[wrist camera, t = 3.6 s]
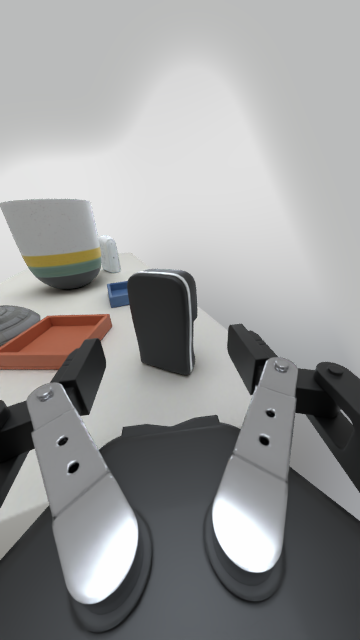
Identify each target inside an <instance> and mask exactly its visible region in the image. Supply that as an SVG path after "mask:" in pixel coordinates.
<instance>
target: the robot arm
mask: <svg viewBox="0 0 360 640" xmlns="http://www.w3.org/2000/svg"><path fill="white" fill-rule="evenodd" d="M227 348H228V353H229V356H230V358H231V360H232V362H233V363H234V365H235V367H236V369H237V371H238V373H239V375H240V376H241V378H242V380H243V382H244V384H245V386H246V388H247V390H248V391H249V393H250V395H253V396H252V399H251V402H250V405H249V407H248V410H247V413H246V416H245V419H244V422H243V425H242V427H241V429H239V428H237V427H235V426H232V425H229V424H225V423H220V422H219V419H218V416H217V415H212V416H205V417H197V418H193V419H190V420H188V421H185V422H183V423H180V424H177V425H175V426H172V427H167V426H159V425H150V424H144V425H136V426H128V427H123V430H122V436H120V437H117V438H115V439H113V440H112V441H110V442H108V443H107V444H106V445H104V446H103V447H102V448H101V449H99V450H98V448H97V446H96V445H95V443H94V441H93V439H92V437H91V436H90V434H89V432H88V430H87V428H86V426H85V425H84V423H83V421H82V419H81V417H80V416H83V415H89V414H90V411H91V408H92V405H93V402H94V400H95V397H96V394H97V391H98V388H99V385H100V383H101V380H102V377H103V374H104V371H105V368H106V359H105V355H104V352H103V348H102V345H101V342H100V339H99V338H93V339H85V340H84V341H83V343H82V345H81V346H80V348H76V349H75V350H74V351H72V352H71V353H70V354H69V355H68V357H67V358H66V360H65V361H64V363H63V364H62V366H61V367H60V369H59V370H58V372H57V373H56V375H55V376H54V378H53V379H52V381H51V382H50V383H48V384H45V385H43V386H40V387H39V388H37V389H36V390H34V391H33V392H32V393H31V394H30V395H29V396H28V398H27V401H24V402H21V403H18V404H15V405H12V406H9V407H7V406H6V404H5V403H4V401H2V400H0V508H1V506H2V504H3V502H4V500H5V498H6V496H7V494H8V492H9V490H10V488H11V486H12V484H13V482H14V480H15V478H16V476H17V474H18V472H19V470H20V468H21V466H22V464H23V462H24V460H25V458H26V456H27V454H28V452H29V451H30V450H32V449H35V451H36V454H37V458H38V462H39V466H40V470H41V474H42V478H43V482H44V486H45V490H46V493H47V497H48V501H49V506H48V507H47V508H46V509H45V511H44V512H43V513H42V514H41V515H40V516H39V517H38V518H37V520H36V521H35V522H34V523H33V524H32V525H31V526H30V527H29V529H28V530H27V531H26V532H25V533H24V534H23V535H22V537H21V538H20V539H19V540H18V541H17V542H16V543H15V544H14V546H13V547H12V548H11V549H10V550H9V551H8V552H7V553H6V554H5V556H4V557H3V558H2V559H1V560H0V640H360V521H359V520H358V519H356V518H355V517H354V516H353V515H351V514H350V513H349V512H347V511H346V510H345V509H344V508H342V507H341V506H340V505H338V504H337V503H336V502H335V501H333V500H332V499H331V498H329V497H328V496H327V495H326V494H324V493H323V492H322V491H320V490H319V489H318V488H316V487H315V486H314V485H313V484H311V483H310V482H309V481H308V480H306V479H305V478H304V477H302V476H301V475H300V474H298V473H297V472H296V471H295V470H293V469H292V468H291V467H290V466H289V464H290V454H291V445H292V436H293V427H294V418H295V413H301V414H306V416H307V417H308V419H309V420H310V422H311V423H312V425H313V426H314V427H315V429H316V430H317V432H318V433H319V435H320V436H321V438H322V439H323V440H324V442H325V443H326V445H327V446H328V448H329V449H330V450H331V452H332V453H333V455H334V456H335V458H336V459H337V461H338V462H339V463H340V465H341V466H342V468H343V469H344V471H345V472H346V474H347V475H348V476H349V478H350V479H351V481H352V482H353V484H354V485H355V487H356V488H357V489H358V491H359V492H360V379H359V378H358V377H357V376H355V375H354V374H353V373H352V372H351V371H349V370H348V369H347V368H345V367H343V366H341V365H338V364H335V363H331V362H321V363H319V364H318V365H317V366H316V370H307V369H299V368H297V366H296V365H295V364H294V363H293V362H291V361H290V360H287V359H285V358H279V357H278V356H277V355H276V354H275V353H274V352H273V351H272V350H271V349H270V348H269V346H268V345H266V343H265V342H264V341H263V340H262V339H261V337H260V336H259V335H258V334H256V333H254V332H253V331H248V330H247V329H246V328H245V327H244V326H243V324H235V325H230V326H229V329H228V344H227ZM341 409H342V410H343V411H344V413H345V414H346V415H347V416H348V417H349V418H350V420H351V421H352V423H353V425H352V424H351V423H350V422H349V421H348V419H347V418H346V417H345V416H344V415H343V414H342V413H341V411H340V410H341Z"/></svg>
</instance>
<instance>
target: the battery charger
mask: <svg viewBox="0 0 360 640" xmlns="http://www.w3.org/2000/svg"><path fill="white" fill-rule="evenodd" d="M127 292H128V298H129V304H130V310H131V315H132V319H133V324H134V328H135V332H136V336H137V340H138V345H139V351H140V356H141V361H142V362H143V363H146V364H149V365H152V366H155V367H158V368H162V369H165V370H168V371H172V372H176V373H180V374H184V375H188V374H189V373H191V371H192V369H193V367H194V364H195V356H194V352H193V322H194V320H195V319H196V318H197V295H196V285H195V281H194V278H193V277H192V276H191V275H190V274H189V273H187V272H185V271H182V270H171V269H148V270H144V271H142V272H137V273H135V274H133V275H132V276H131V277H130V278H129V280H128V283H127Z"/></svg>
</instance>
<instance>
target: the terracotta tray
mask: <svg viewBox="0 0 360 640" xmlns="http://www.w3.org/2000/svg"><path fill="white" fill-rule="evenodd" d="M111 327H112V324H111V319H110V315H109V314H97V315H58V316H47V317H45V318H44V319H42V320H41V321H39V322H38V323H36V324H35V325H33V326H32V327H30V328H29V329H27V330H25V331H24V332H22V333H21V334H19V335H18V336H16V337H15V338H13V339H12V340H10V341H9V342H7V343H6V344H4V345H3V346H1V347H0V369H60V367H61V366H62V364H63V363H64V361H65V360H66V358H67V357H68V355H69V354H70V353H71V352H72V351H74V350H75V349H76V348H80V346H81V345H82V343H83V341H84V340H85V339H93V338H99V339H100V341H101V340H102V338H103V337H104V336H105V334H106V333H107V332H108V331H109V329H110V328H111Z"/></svg>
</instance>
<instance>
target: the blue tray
mask: <svg viewBox="0 0 360 640" xmlns="http://www.w3.org/2000/svg"><path fill="white" fill-rule="evenodd" d="M127 283H128V281H124V282H118V283H111V284H107V288H108V294H109V299H110V304H111V308H114V307H119V306H124V305H129V298H128V292H127Z"/></svg>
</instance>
